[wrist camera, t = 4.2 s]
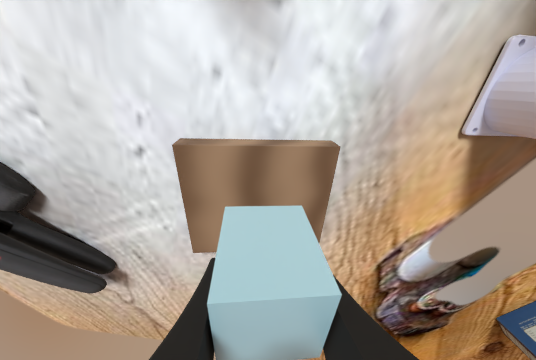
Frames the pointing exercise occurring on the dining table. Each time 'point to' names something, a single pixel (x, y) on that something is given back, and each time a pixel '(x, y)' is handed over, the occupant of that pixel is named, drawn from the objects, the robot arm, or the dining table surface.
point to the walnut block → (251, 180)
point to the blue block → (270, 286)
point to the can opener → (43, 244)
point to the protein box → (521, 328)
